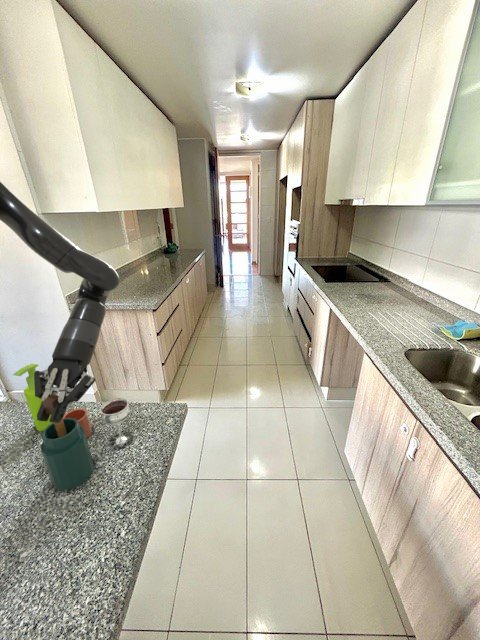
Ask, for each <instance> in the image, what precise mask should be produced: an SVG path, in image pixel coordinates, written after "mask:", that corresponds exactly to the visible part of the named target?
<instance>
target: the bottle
mask: <svg viewBox="0 0 480 640" xmlns="http://www.w3.org/2000/svg"><path fill="white" fill-rule="evenodd" d="M63 422H64V426H65V429H66V432H67V435H65V436H63V437H60V438H58V435H57V431H56V428H55V425H54V423H52V424H50V425H49V426H48V427H47V428H45V429H44V430H43V431H42V434H41V440H42V443H41V444H40V451H41V454H42V457H43V460H44V463H45V466H46V469H47V471H48V475H49V477H50V480H51V483H52V486H53V487H54V488H55V489H56V490H58V491H68V490H71V489H75V488H77V487H79V486H80V485H82V484H83V483H84V482H85V481H87V480H88V479H89V477H90V476H91V475H92V473H93V471H94V461H93V458H92V454H91V450H90V446H89V442H88V438H86V434H85V430H84V429H83V428H82V427H80V426H79V422H78V421H77V420H76V419H75V418H65V419H63Z"/></svg>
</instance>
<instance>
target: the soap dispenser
mask: <svg viewBox="0 0 480 640" xmlns="http://www.w3.org/2000/svg"><path fill="white" fill-rule="evenodd" d="M37 367H39V364H38V363H34V362H33V363H29V364H28V365H25V366H23V367H21V368H19V369H18V370H16V371H15V372H13V374H12V376H16V377H21V376H23V375H24V374H26V373H27V374H28V376H26V378H25V382H26V384H27V387H25V388H24V389H23V393H24V397H25V400H26V403H27V406H28V409H29V412H30V415H31V417H32V420H33V424H34V426H35V429H36V430H37V431H38V432H43V430H44V429H45V428H47V427H48V426H49V425H50V424H52V423H54V422H50V421H49V420H50V417H51V414H50V416H49V419H48V420H47V421H38V420H37V413H38V411H39V408H40V406H41V403H42V400H41V399H40V398H39V397H36V396H35V384H34V373H35V372H36V371H37V369H36V368H37ZM51 393H52V392H51ZM50 395H51V394H50Z"/></svg>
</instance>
